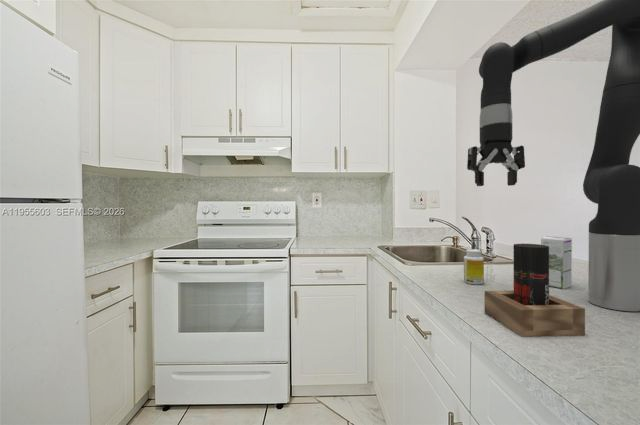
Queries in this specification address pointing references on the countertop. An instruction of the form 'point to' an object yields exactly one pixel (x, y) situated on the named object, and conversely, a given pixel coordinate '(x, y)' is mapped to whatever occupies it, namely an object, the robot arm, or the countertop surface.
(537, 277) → the deodorant
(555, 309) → the socket block
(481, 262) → the supplement bottle
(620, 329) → the countertop surface
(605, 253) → the robot arm
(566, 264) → the syrup box
